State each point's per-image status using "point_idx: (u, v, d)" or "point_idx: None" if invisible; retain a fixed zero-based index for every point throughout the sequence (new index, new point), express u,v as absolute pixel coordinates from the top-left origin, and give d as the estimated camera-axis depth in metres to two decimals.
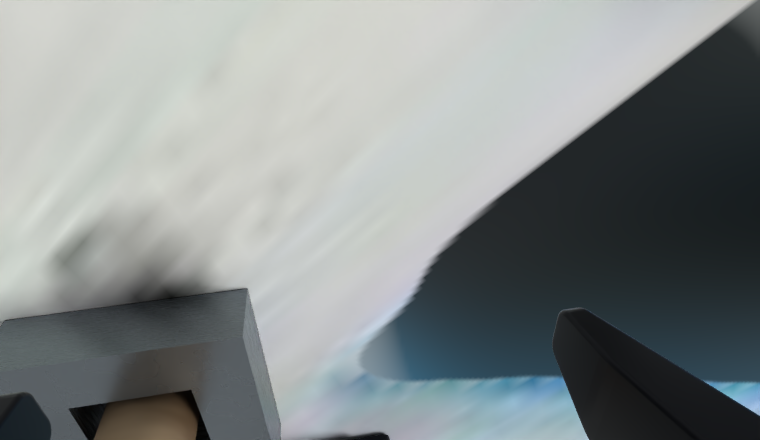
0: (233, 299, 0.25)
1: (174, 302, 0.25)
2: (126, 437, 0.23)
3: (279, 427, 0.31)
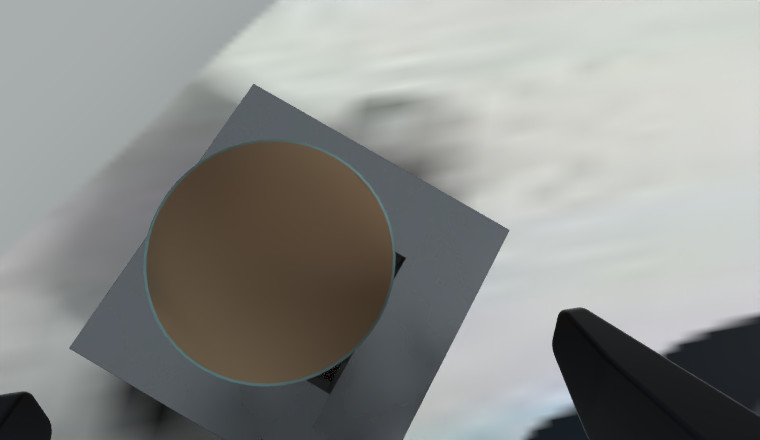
0: None
1: None
2: None
3: None
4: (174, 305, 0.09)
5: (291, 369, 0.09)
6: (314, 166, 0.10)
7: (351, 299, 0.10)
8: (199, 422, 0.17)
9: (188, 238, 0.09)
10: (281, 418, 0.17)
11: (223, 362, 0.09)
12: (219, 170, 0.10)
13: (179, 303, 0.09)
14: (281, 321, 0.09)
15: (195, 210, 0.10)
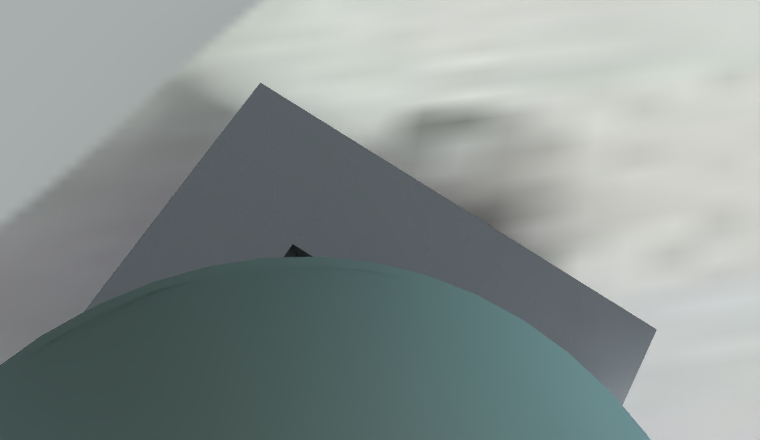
0: None
1: None
2: None
3: None
4: None
5: None
6: (451, 360, 0.03)
7: None
8: None
9: None
10: None
11: None
12: (105, 374, 0.03)
13: None
14: None
15: None
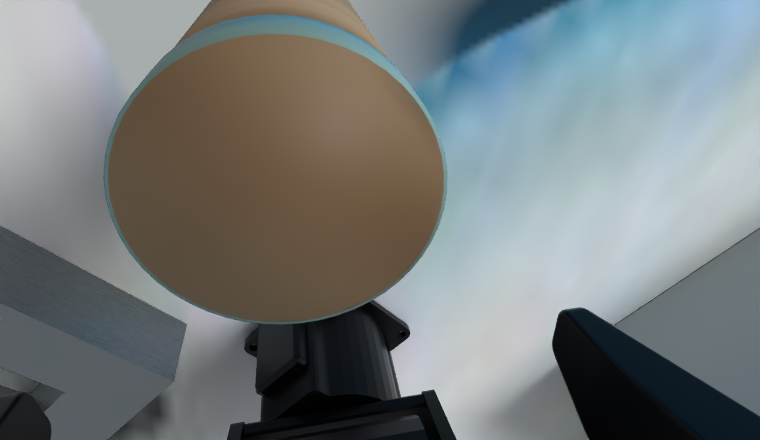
0: None
1: None
2: None
3: (174, 328, 0.23)
4: (161, 253, 0.07)
5: (307, 311, 0.08)
6: (353, 82, 0.06)
7: (381, 251, 0.08)
8: None
9: (167, 177, 0.07)
10: (84, 418, 0.22)
11: (231, 305, 0.08)
12: (199, 78, 0.06)
13: (168, 251, 0.07)
14: (297, 270, 0.08)
15: (170, 139, 0.06)
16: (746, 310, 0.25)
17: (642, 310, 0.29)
